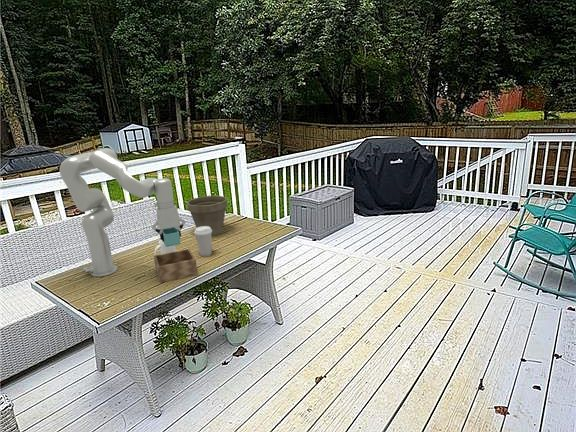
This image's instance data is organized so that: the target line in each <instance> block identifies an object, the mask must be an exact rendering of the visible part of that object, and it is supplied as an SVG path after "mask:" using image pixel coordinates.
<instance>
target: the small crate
mask: <svg viewBox="0 0 576 432" xmlns="http://www.w3.org/2000/svg"><path fill="white" fill-rule="evenodd" d="M162 233H163V237H164V244H165V246H166V247H169V246H174V245H175V246H178V245H181V236H180V235H179V231H178V230H177V228H176V227H174V228H169V229H163V232H162Z"/></svg>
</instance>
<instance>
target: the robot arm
mask: <svg viewBox="0 0 576 432" xmlns="http://www.w3.org/2000/svg"><path fill="white" fill-rule="evenodd" d="M96 169H97V170H99V171H100V172H103V173H104V174H106V175H108V176H110V177H112V178H113V179H115V180H116V181H117V184H119V185H120V187H121V188H122V189H123V190H124V191H126V192H127V193H129V194H131V195H133V196H135V197H137V198H141V199H143V198H145V199H146V198H147V197H149V196H151V195H153V194H155V196H156V203H154V208H155V207H157V208H156V221H155V222H154V224H153V225H152V226H151V229H152V230H153V231H155V232H156V233H158V234H159V237H160V238H159V239H160V240H162V241H163V242H164V237H163V233H162V232H163V229H169V228H174V227H176V228H177V230H178V231H179V235H180V237H182V234H181V231H182V230H183V227H184V226H185V225H186V223H187V222H186V220H184V219H183V218H181V217H180V214H179V211H178V207H177V206H176V204H175V199H174V194H173V193H174V192H173V186H172V180H171V179H170V178H164V177H163V178H155V177H147V178H145V179H142V180H141V181H140V180H139V179H136V178H135V177H133V176H132V175H130V173H129V172H128V164H126V163H125V162H124V161H121V160H120V159H118V155H117V153H116V152H115V150H113V149H112V148H109V147H104V148H100V149H95V150H93V151H89V152H85V153H80V154H76V155H72V156H69V157H67V158H65V159H64V160H63V161H62V162H61V164H60V166H59V175H60V177H61V179H62V181H63V183H64V185H65V187H67V190H68V192H69V194H70V197H72V200H73V202H74V204H75V206H76V208H77V210H78V211H80V212H83V213H84V212H85V213H86V212H89V211H91V210H92V212H90V213H88V214H86V215H85V216H84V217H83V218H82V220H81V227H82V230H83V232H84V234H85V236H86V241H87V246H88V249H89V254H90V259H91V264H90V265H89V266H85V267H83V268H82V269H83V272H86V273H88V272H90V275H91V276H92V277H96V278H97V277H100V278H101V277H107V276H109V275H112V274H114V273H115V272H117V270H118V265H116V264H114V260H113V256H112V250H111V245H110V240H109V236H108V234H107V233H106V230H105V228H106V227H108V226H110V225H111V224H112V223H113V222H114V220H115V219H114V218H115V215H114V212H113V210H112V207H111V205H110V203H109V200H108V199H107V196H106V194H105V193H104V192H103V191H102V190H101V189H99V188H97V187H92V188H89V185H88V183H87V181H86V180H85V179H84V178H83V177H82V176H81V174H82V173H85V172H86V173H87V172H89V171H92V170H96ZM157 227H158V228H157Z"/></svg>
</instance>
